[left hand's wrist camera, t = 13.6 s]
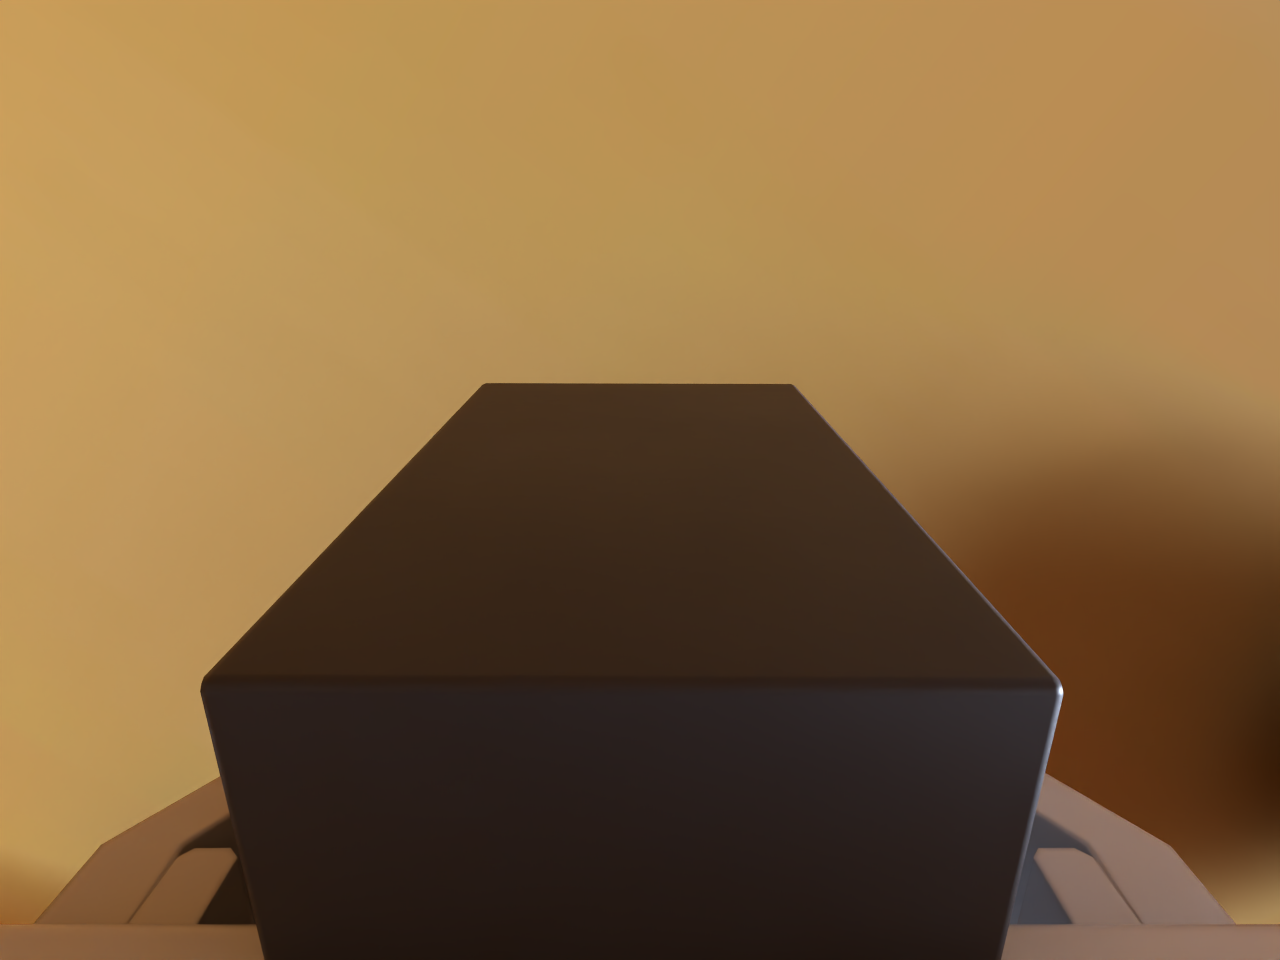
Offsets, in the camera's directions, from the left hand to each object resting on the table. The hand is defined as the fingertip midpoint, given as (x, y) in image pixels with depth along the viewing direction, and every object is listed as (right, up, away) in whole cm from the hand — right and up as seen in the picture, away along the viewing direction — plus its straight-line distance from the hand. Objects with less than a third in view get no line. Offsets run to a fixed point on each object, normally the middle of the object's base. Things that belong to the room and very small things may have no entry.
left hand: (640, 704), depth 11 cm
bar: (0, -8, +6) cm, 10 cm away
